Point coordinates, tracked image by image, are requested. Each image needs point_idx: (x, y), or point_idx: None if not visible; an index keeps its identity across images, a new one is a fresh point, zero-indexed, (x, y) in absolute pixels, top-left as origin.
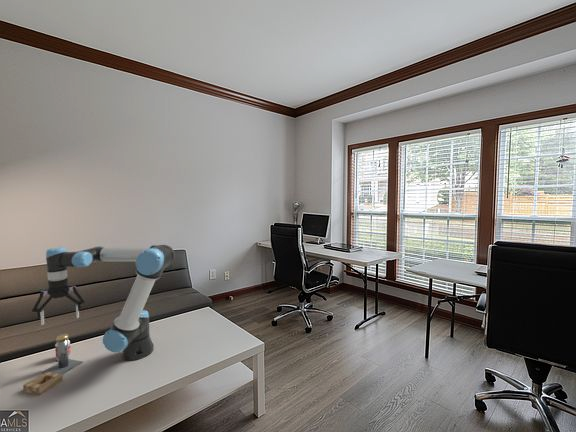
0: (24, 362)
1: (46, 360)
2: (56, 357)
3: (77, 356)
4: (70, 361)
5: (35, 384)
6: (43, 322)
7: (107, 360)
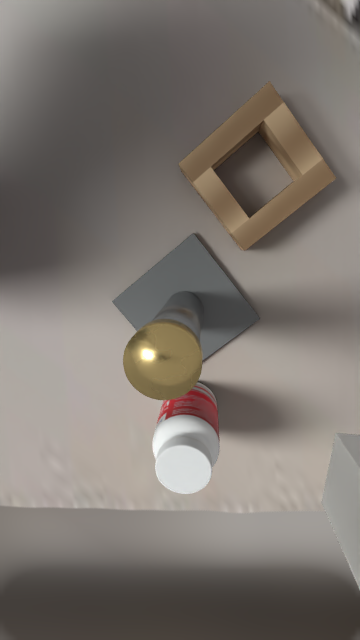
0: None
1: (252, 425)
2: (214, 400)
3: None
4: None
5: (286, 140)
6: (344, 474)
7: (13, 244)
